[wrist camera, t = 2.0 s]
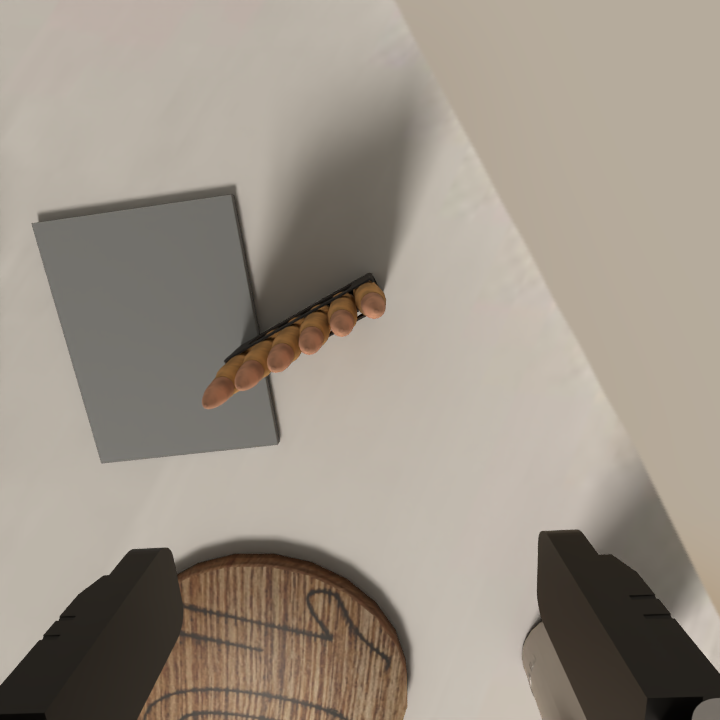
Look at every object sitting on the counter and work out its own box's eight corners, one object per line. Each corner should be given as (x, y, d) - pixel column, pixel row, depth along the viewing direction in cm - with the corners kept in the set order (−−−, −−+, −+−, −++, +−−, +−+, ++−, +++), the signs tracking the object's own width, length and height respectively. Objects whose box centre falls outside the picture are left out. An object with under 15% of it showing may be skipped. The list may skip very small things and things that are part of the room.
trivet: (126, 534, 37) (113, 549, 35) (424, 567, 36) (426, 583, 35) (134, 757, 43) (123, 780, 41) (390, 787, 42) (390, 811, 41)
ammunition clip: (370, 272, 30) (385, 281, 19) (383, 295, 31) (405, 319, 19) (239, 346, 31) (175, 399, 20) (253, 367, 32) (199, 432, 20)
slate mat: (233, 195, 30) (231, 194, 29) (279, 441, 34) (277, 444, 33) (37, 223, 30) (31, 223, 30) (106, 459, 35) (101, 463, 34)
